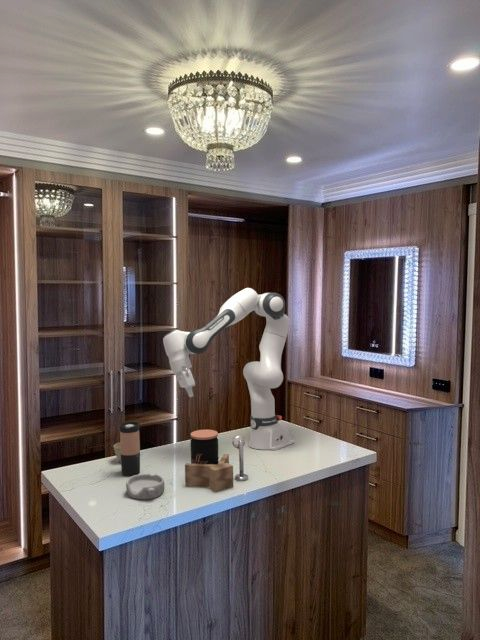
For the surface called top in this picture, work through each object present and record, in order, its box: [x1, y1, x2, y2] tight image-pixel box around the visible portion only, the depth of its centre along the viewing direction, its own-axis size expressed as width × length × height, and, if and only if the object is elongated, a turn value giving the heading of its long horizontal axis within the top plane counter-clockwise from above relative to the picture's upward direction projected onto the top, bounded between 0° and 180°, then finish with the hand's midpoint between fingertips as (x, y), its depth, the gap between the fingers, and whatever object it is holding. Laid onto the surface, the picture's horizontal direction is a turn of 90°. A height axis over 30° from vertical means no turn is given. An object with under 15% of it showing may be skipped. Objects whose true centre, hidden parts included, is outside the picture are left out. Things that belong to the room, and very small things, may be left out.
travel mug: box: [119, 421, 141, 478], centre depth 194 cm, size 8×8×20 cm
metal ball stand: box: [231, 434, 249, 482], centre depth 187 cm, size 5×5×16 cm
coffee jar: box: [190, 429, 220, 465], centre depth 187 cm, size 11×11×18 cm
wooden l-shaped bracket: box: [184, 453, 234, 493], centre depth 182 cm, size 20×13×8 cm, turn 125°
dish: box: [125, 473, 165, 500], centre depth 176 cm, size 14×14×5 cm
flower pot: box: [113, 442, 121, 463], centre depth 209 cm, size 10×10×7 cm
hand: (191, 396), depth 212 cm, fingers closed
